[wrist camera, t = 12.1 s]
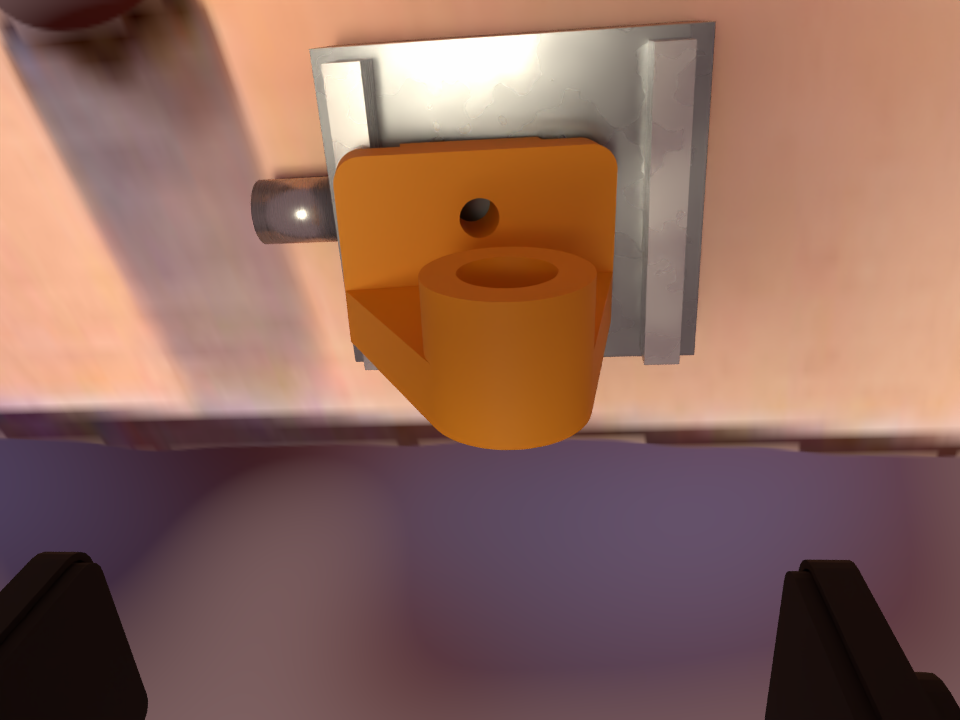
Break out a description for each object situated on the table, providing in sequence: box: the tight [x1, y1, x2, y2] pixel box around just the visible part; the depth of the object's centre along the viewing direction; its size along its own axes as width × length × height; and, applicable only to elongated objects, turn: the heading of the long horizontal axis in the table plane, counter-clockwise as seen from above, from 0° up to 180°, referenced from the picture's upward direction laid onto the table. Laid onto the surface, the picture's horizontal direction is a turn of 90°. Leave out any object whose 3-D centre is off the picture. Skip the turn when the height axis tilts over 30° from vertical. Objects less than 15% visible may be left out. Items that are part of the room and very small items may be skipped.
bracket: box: [333, 137, 618, 450], centre depth 26 cm, size 11×7×12 cm, turn 92°
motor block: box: [251, 21, 716, 370], centre depth 33 cm, size 20×14×6 cm
